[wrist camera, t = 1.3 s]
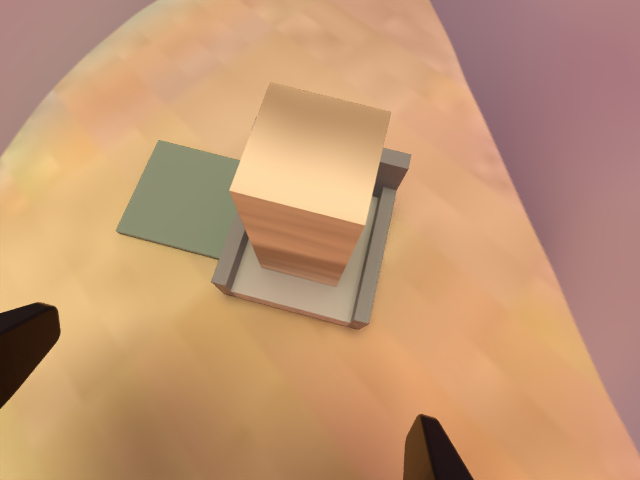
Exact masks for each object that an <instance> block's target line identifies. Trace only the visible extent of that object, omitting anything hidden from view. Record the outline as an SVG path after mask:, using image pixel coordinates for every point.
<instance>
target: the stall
mask: <svg viewBox="0 0 640 480" xmlns="http://www.w3.org/2000/svg"><path fill="white" fill-rule="evenodd" d="M256 118H257V117H256ZM255 121H256V119H255ZM254 123H255V122H254ZM253 126H254V125H253ZM252 129H253V127H252ZM410 159H411V154H407V153H403V152H399V151H395V150H390V149H386V148H383V150H382V154H381V159H380V163H379V167H378V172H377V176H376V180H375V185H374V189H373V193H372V198H371V202H370V206H369V211H368V215H367V219H366V224H365V227H364V229H363V231H362V233H361V235H360V237H359V240H358V242H357V244H356V246H355V248H354V250H353V252H352V254H351V257H350V259H349V261H348V263H347V265H346V267H345V269H344V272H343V274H342V276H341V278H340V280H339V282H338V284H337V286H336V287H333V286H329V285H325V284H322V283H318V282H314V281H310V280H306V279H303V278H299V277H295V276H291V275H287V274H284V273H280V272H276V271H272V270H268V269H264V268H261V266H260V264H259V261H258V259H257V256H256V254H255V252H254V249H253V247H252V244H251V242H250V240H249V237H248V235H247V232H246V230H245V228H244V225H243V223H242V220H241V218H240V216H239V213H238V211H236V214H235V217H234V220H233V222H232V225H231V228H230V231H229V234H228V236H227V239H226V242H225V245H224V247H223V250H222V253H221V256H220V258H219V261H218V264H217V267H216V269H215V272H214V275H213V278H212V281H211V282H212V283H213V284H214V285H215V286H216V287H217V288H218V289H220V290H221V291H222V292H223V293H224V294H227V295H231V296H235V297H238V298H242V299H246V300H250V301H253V302H257V303H261V304H265V305H268V306H272V307H276V308H280V309H284V310H287V311H291V312H295V313H299V314H302V315H306V316H310V317H314V318H317V319H321V320H325V321H329V322H332V323H336V324H340V325H344V326H347V327H351V328H355V329H361V328H362V327H364V326H366V325H368V324H369V321H370V317H371V312H372V307H373V302H374V297H375V292H376V287H377V283H378V278H379V273H380V268H381V263H382V258H383V254H384V249H385V244H386V239H387V234H388V229H389V225H390V220H391V215H392V210H393V205H394V200H395V195H396V191H397V189H398V187H399V185H400V183H401V181H402V180H403V178H404V176H405V174H406V172H407V171H408V169H409V164H410Z"/></svg>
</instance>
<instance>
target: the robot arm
mask: <svg viewBox="0 0 640 480" xmlns="http://www.w3.org/2000/svg"><path fill="white" fill-rule="evenodd" d="M60 332H61V331H60V322H59V314H58V310H57V308H56V307H55V306H52V305H49V304H45V303H41V302H37V303H33V304H30V305H26V306H23V307H20V308H16V309H13V310H10V311H6V312H3V313H0V409H1V408H2V407H3V406H4V404H5V403H6V402H7V401H8V400H9V399H10V398H11V397H12V396H13V395H14V393H15V392H16V391H17V390H18V389H19V388H20V386H21V385H22V384H23V383H24V381H25V380H26V379H27V378H28V377H29V375H30V374H31V373H32V372H33V370H34V369H35V368H36V367H37V366H38V364H39V363H40V362H41V361H42V359H43V358H44V357H45V356H46V354H47V353H48V352H49V351H50V350H51V348H52V347H53V346H54V345H55V343H56V342H57V341H58V339H59V336H60ZM403 480H474V479H473V477H472V476H471V474H470V473H469V471H468V469H467V468H466V466H465V464H464V463H463V461H462V459H461V458H460V456H459V454H458V453H457V451H456V449H455V448H454V446H453V444H452V443H451V441H450V439H449V438H448V436H447V434H446V433H445V431H444V429H443V428H442V426H441V424H440V423H439V421H438V420H437V419H436V418H434V417H431V416H427V415H424V414H419V415H418V416H417V417H416V419H415V421H414V423H413V425H412V427H411V429H410V431H409V433H408V435H407V437H406V442H405V454H404V474H403Z"/></svg>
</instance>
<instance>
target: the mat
mask: <svg viewBox="0 0 640 480" xmlns="http://www.w3.org/2000/svg"><path fill="white" fill-rule="evenodd" d="M239 163H240V160H236V159H232V158H228V157H224V156H220V155H216V154H212V153H208V152H204V151H200V150H197V149H193V148H189V147H185V146H181V145H177V144H173V143H169V142H165V141H161V140H158V142H157V144H156V147H155V149H154V151H153V153H152V155H151V157H150V159H149V161H148V163H147V166H146V168H145V170H144V172H143V174H142V176H141V178H140V180H139V182H138V185H137V187H136V189H135V191H134V193H133V195H132V197H131V199H130V202H129V204H128V206H127V208H126V210H125V212H124V214H123V216H122V218H121V221H120V223H119V225H118V227H117V229H116V232H118V233H120V234H124V235H128V236H132V237H135V238H139V239H143V240H147V241H151V242H154V243H158V244H162V245H166V246H170V247H173V248H177V249H181V250H185V251H189V252H193V253H196V254H200V255H204V256H208V257H212V258H215V259H219V258H220V256H221V253H222V250H223V247H224V245H225V242H226V239H227V236H228V234H229V231H230V228H231V225H232V222H233V220H234V217H235V214H236V211H237V208H236V206H235V204H234V201H233V199H232V196H231V194H230V192H229V190H230V187H231V184H232V182H233V179H234V176H235V174H236V171H237V168H238V166H239Z"/></svg>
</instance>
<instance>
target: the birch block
mask: <svg viewBox="0 0 640 480" xmlns="http://www.w3.org/2000/svg"><path fill="white" fill-rule="evenodd" d="M390 115H391V112H389V111H385V110H381V109H377V108H373V107H369V106H365V105H361V104H357V103H353V102H349V101H344V100H340V99H336V98H332V97H328V96H324V95H320V94H316V93H312V92H308V91H304V90H300V89H295V88H291V87H287V86H283V85H279V84H275V83H271V82H270V83H269V86H268V89H267V91H266V94H265V97H264V99H263V102H262V105H261V107H260V110H259V113H258V115H257V118H256V121H255V123H254V126H253V129H252V131H251V134H250V137H249V139H248V142H247V144H246V147H245V150H244V152H243V155H242V158H241V160H240V163H239V166H238V168H237V171H236V174H235V176H234V179H233V182H232V184H231V187H230V190H229V192H230V194H231V196H232V199H233V201H234V204H235V206H236V208H237V211H238V213H239V216H240V218H241V220H242V223H243V225H244V228H245V230H246V232H247V235H248V237H249V240H250V242H251V244H252V247H253V249H254V252H255V254H256V256H257V259H258V261H259V264H260V266H261V268H264V269H268V270H272V271H276V272H280V273H284V274H287V275H291V276H295V277H299V278H303V279H306V280H310V281H314V282H318V283H322V284H325V285H329V286H333V287H336V286H337V284H338V282H339V280H340V278H341V276H342V274H343V272H344V269H345V267H346V265H347V263H348V261H349V259H350V257H351V254H352V252H353V250H354V248H355V246H356V244H357V242H358V240H359V237H360V235H361V233H362V231H363V229H364V227H365V224H366V219H367V215H368V211H369V206H370V202H371V198H372V193H373V189H374V185H375V180H376V176H377V172H378V167H379V163H380V159H381V154H382V150H383V146H384V141H385V137H386V133H387V128H388V124H389V120H390Z"/></svg>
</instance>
